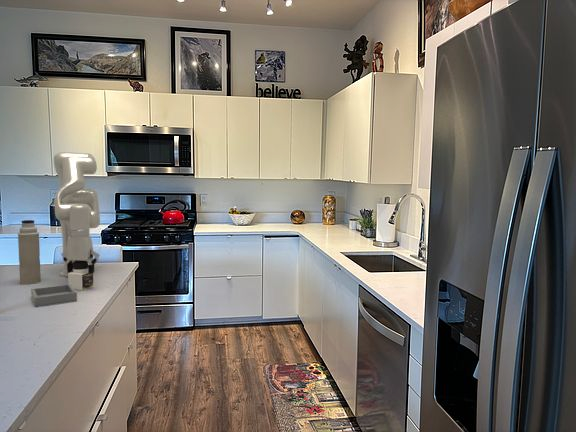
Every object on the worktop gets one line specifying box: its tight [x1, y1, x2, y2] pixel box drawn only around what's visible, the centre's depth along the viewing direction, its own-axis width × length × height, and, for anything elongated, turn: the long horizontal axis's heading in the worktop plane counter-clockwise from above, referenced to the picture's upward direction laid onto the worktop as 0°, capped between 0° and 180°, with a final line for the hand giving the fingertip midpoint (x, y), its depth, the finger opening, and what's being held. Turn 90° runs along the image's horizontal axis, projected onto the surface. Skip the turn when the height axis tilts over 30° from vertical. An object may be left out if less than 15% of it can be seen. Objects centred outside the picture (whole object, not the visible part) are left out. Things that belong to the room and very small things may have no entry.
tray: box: [30, 283, 78, 308], centre depth 165 cm, size 14×14×4 cm
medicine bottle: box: [67, 261, 94, 291], centre depth 181 cm, size 7×7×12 cm
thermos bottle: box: [17, 219, 42, 285], centre depth 187 cm, size 8×8×28 cm
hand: (80, 273), depth 180 cm, fingers open, 9 cm apart
